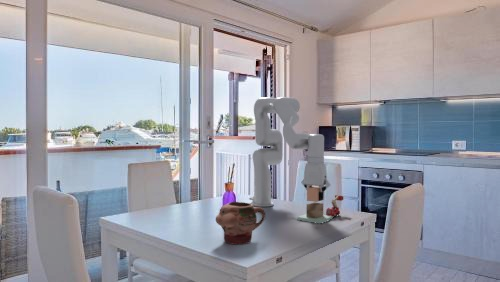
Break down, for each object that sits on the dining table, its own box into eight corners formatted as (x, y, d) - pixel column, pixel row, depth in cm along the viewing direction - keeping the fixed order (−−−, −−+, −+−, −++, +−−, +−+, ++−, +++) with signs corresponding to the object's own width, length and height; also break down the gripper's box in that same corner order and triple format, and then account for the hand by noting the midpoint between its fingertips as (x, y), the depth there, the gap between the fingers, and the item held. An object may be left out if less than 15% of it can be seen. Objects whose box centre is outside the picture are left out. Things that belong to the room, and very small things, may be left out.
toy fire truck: (325, 218, 178) (325, 198, 178) (337, 213, 189) (337, 194, 188) (331, 219, 176) (331, 198, 176) (343, 214, 187) (343, 195, 186)
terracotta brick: (306, 200, 173) (306, 187, 173) (314, 198, 178) (314, 186, 178) (316, 201, 170) (316, 188, 169) (323, 199, 175) (323, 187, 175)
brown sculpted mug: (255, 233, 150) (255, 198, 150) (272, 240, 140) (272, 203, 139) (210, 240, 140) (210, 203, 139) (224, 248, 129) (225, 208, 129)
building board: (297, 220, 173) (297, 216, 173) (309, 215, 183) (310, 212, 183) (320, 224, 166) (320, 220, 166) (332, 219, 175) (332, 216, 175)
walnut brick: (306, 216, 173) (306, 204, 173) (313, 214, 179) (313, 202, 178) (316, 218, 170) (316, 205, 170) (323, 215, 175) (323, 203, 175)
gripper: (295, 160, 176) (295, 198, 176) (328, 162, 165) (328, 202, 166) (303, 159, 182) (303, 196, 182) (336, 161, 171) (335, 200, 172)
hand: (315, 199), depth 174 cm, fingers closed on terracotta brick, 5 cm apart
